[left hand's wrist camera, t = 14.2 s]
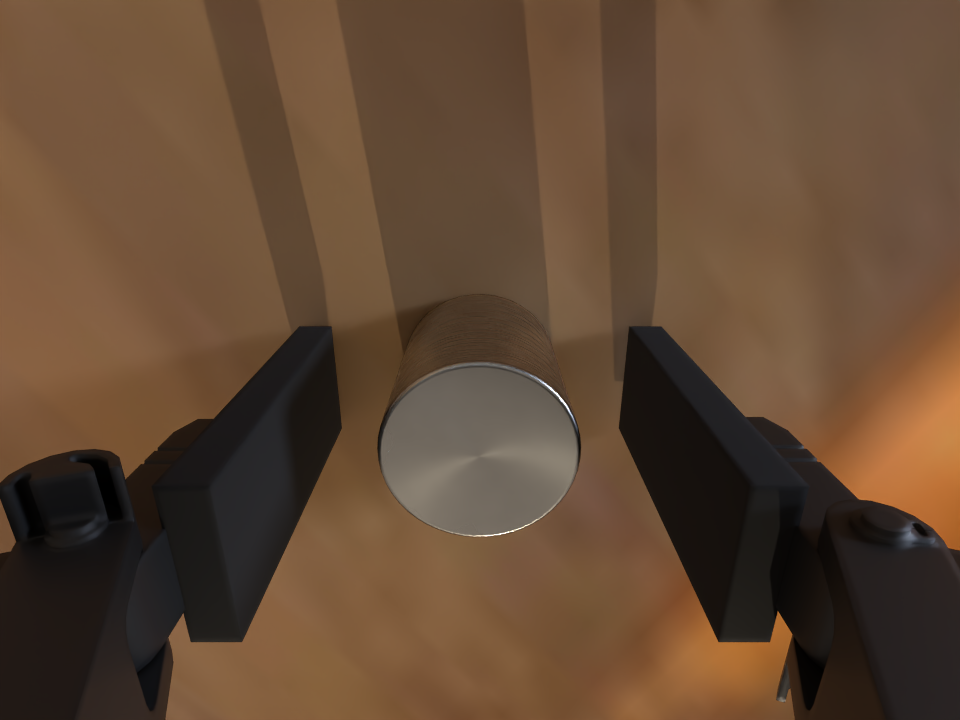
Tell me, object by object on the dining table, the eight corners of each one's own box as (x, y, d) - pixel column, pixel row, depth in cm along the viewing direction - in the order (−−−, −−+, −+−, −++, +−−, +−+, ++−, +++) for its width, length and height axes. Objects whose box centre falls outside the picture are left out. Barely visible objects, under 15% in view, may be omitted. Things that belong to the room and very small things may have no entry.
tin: (406, 289, 13) (374, 356, 9) (561, 297, 13) (594, 367, 9) (404, 426, 15) (377, 534, 11) (546, 433, 15) (569, 543, 11)
